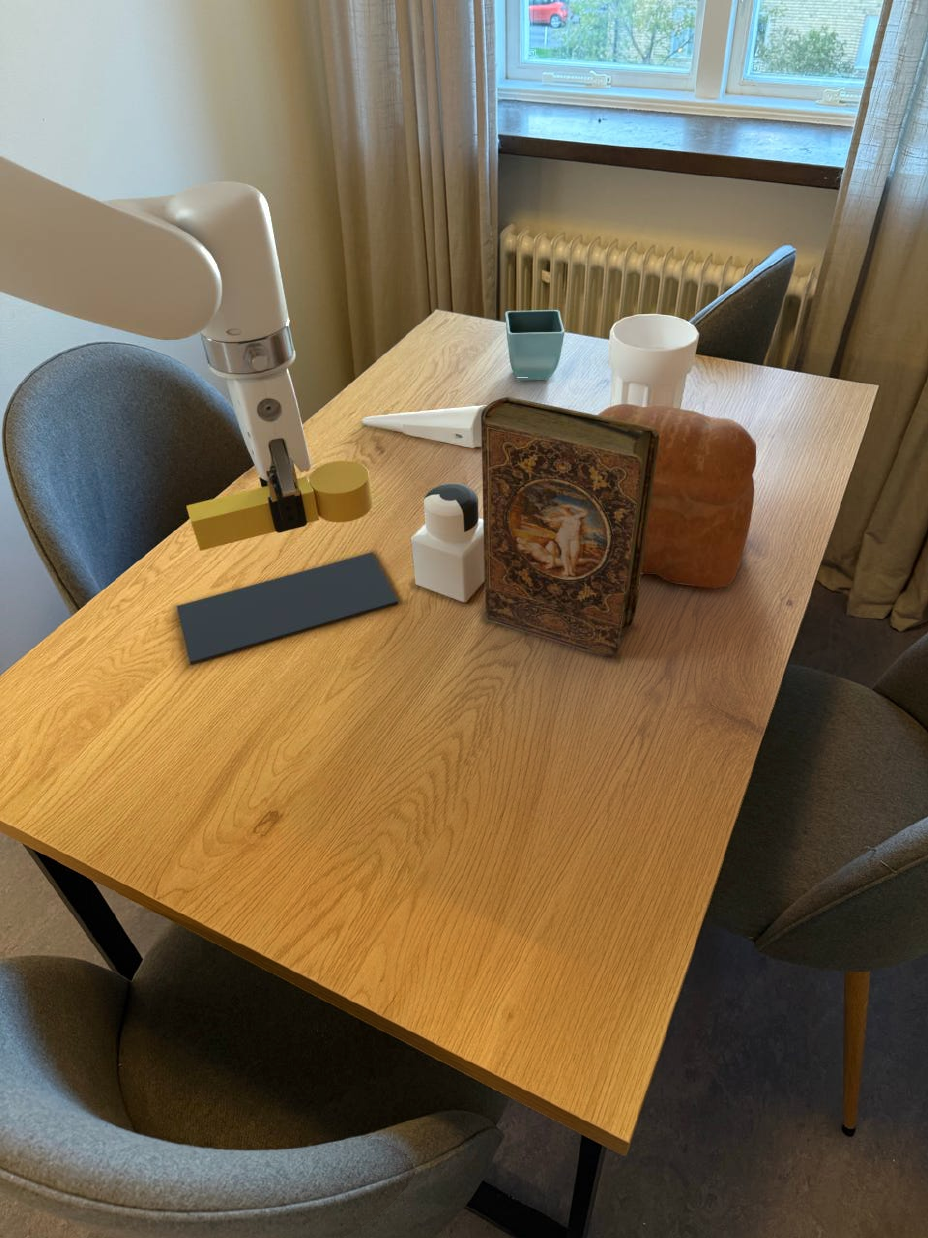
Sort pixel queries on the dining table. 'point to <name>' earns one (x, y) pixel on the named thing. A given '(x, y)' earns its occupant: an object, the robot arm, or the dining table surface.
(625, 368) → the cup
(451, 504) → the medicine bottle
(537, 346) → the flower pot
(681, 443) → the bread
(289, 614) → the mat
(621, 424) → the book
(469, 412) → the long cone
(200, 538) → the yellow disc-ended bar
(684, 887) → the dining table surface
